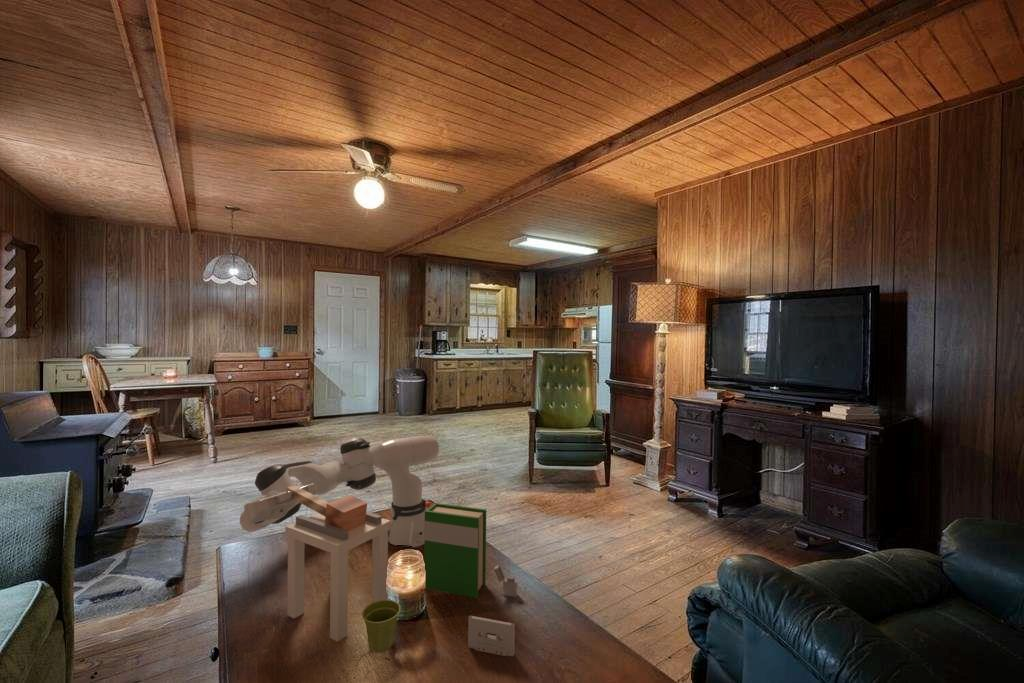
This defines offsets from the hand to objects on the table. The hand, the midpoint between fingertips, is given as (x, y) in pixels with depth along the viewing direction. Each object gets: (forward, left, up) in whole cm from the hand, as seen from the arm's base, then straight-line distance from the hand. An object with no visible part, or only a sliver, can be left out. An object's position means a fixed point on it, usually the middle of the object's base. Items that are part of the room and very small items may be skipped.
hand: (297, 491), depth 135 cm
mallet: (-5, +10, -4) cm, 11 cm away
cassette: (-36, +55, -31) cm, 72 cm away
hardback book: (-41, +24, -31) cm, 57 cm away
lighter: (-52, +36, -31) cm, 71 cm away
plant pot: (-14, +37, -31) cm, 50 cm away
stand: (-8, +17, -31) cm, 36 cm away
